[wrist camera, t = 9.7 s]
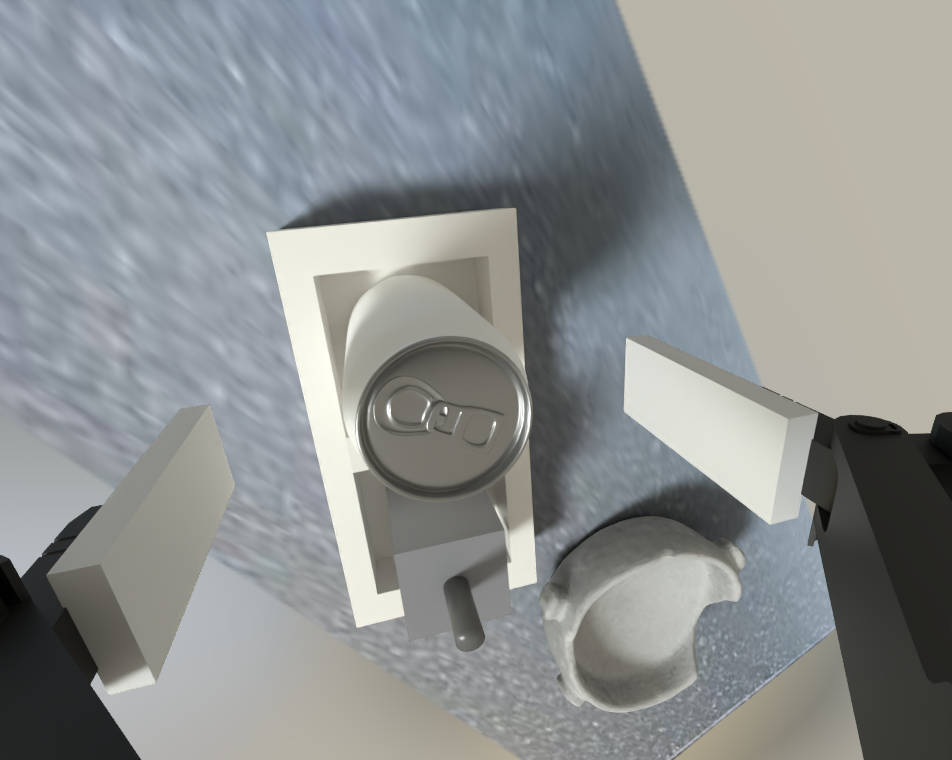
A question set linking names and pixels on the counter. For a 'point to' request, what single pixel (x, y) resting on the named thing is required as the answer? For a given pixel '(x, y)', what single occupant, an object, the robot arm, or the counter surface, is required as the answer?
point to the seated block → (450, 566)
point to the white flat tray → (323, 358)
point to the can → (432, 392)
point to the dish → (635, 610)
